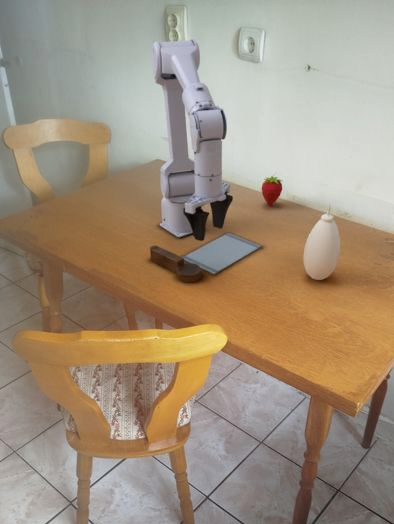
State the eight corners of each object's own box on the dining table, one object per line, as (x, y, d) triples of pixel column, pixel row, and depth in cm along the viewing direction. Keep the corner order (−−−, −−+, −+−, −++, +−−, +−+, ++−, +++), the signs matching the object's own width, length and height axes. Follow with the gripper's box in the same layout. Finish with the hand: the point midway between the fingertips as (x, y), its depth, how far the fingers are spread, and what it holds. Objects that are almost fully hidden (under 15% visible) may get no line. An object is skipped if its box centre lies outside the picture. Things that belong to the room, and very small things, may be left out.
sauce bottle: (327, 290, 113) (341, 215, 101) (295, 281, 116) (304, 206, 104) (339, 274, 118) (353, 201, 106) (308, 266, 121) (318, 193, 109)
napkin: (181, 258, 124) (181, 257, 124) (228, 233, 134) (228, 232, 134) (214, 274, 119) (214, 273, 118) (261, 247, 129) (261, 245, 128)
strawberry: (281, 201, 150) (284, 167, 144) (279, 212, 144) (283, 177, 138) (261, 200, 151) (263, 166, 145) (259, 210, 145) (261, 176, 139)
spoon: (144, 262, 123) (142, 250, 121) (160, 254, 126) (159, 242, 124) (189, 285, 115) (189, 272, 113) (205, 275, 118) (205, 263, 116)
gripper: (204, 186, 98) (205, 249, 106) (242, 166, 107) (240, 225, 116) (175, 180, 101) (178, 242, 110) (215, 160, 111) (215, 219, 119)
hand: (208, 233), depth 113 cm, fingers open, 7 cm apart
